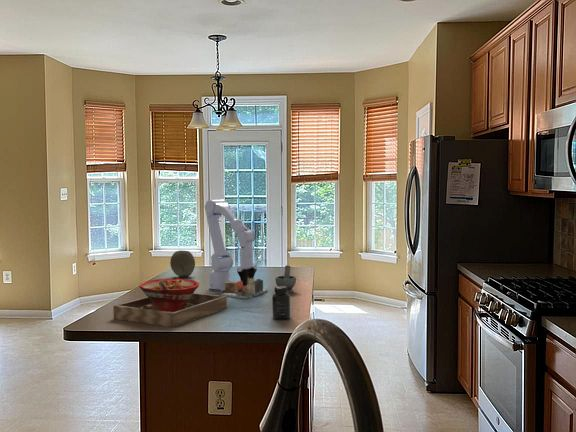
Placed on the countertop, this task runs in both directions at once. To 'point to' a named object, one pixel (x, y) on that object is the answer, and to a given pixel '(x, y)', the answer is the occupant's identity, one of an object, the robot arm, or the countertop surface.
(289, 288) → the mortar and pestle
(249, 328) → the countertop surface
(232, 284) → the block
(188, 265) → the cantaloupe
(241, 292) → the lever
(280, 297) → the supplement bottle
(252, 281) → the block
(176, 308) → the stew
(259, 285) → the press
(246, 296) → the rail
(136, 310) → the wooden tray
